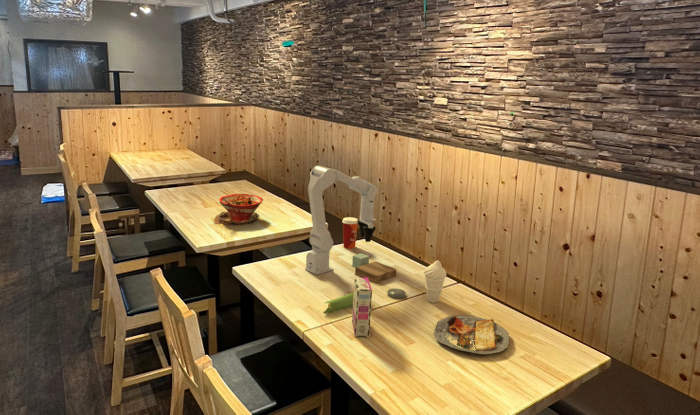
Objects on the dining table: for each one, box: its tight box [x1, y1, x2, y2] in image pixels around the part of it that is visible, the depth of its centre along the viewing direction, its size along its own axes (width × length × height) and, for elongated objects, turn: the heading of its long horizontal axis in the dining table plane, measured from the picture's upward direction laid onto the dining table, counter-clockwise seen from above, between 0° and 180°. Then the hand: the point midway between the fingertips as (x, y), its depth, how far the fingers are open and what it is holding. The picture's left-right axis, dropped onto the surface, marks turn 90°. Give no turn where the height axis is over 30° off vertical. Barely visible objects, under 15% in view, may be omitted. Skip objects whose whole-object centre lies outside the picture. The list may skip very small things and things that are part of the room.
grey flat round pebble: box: [386, 288, 407, 300], centre depth 204 cm, size 7×7×2 cm
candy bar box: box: [351, 276, 373, 338], centre depth 174 cm, size 11×5×16 cm, turn 5°
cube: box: [351, 253, 370, 268], centre depth 231 cm, size 5×5×5 cm
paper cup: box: [341, 216, 359, 250], centre depth 255 cm, size 8×8×14 cm
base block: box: [354, 260, 397, 284], centre depth 222 cm, size 12×12×3 cm
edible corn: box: [322, 291, 354, 314], centre depth 192 cm, size 5×20×5 cm
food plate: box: [433, 314, 510, 355], centre depth 173 cm, size 25×23×4 cm
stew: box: [213, 193, 264, 226], centre depth 291 cm, size 28×24×16 cm
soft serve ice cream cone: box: [423, 260, 447, 304], centre depth 199 cm, size 8×8×16 cm
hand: (365, 239), depth 238 cm, fingers open, 7 cm apart
